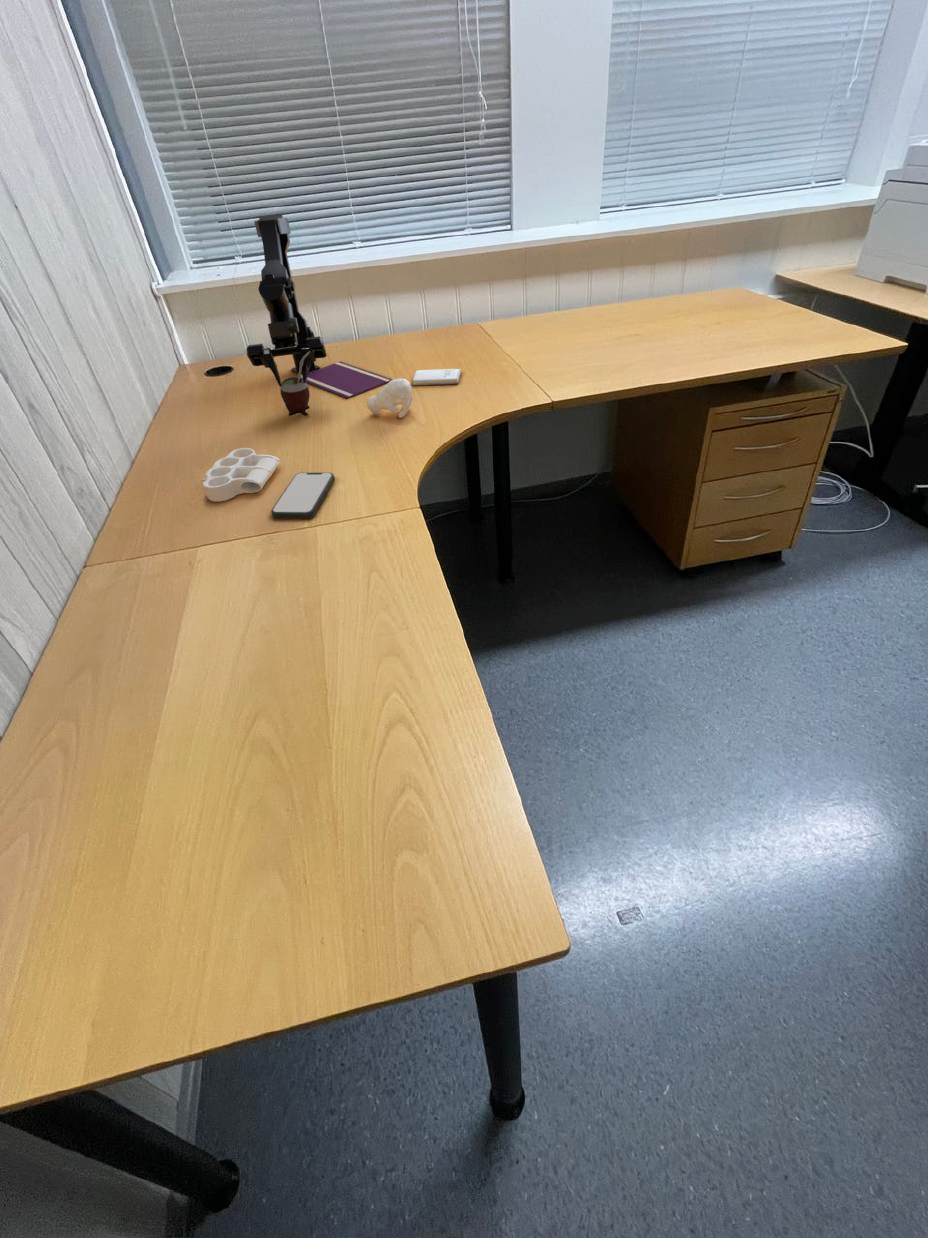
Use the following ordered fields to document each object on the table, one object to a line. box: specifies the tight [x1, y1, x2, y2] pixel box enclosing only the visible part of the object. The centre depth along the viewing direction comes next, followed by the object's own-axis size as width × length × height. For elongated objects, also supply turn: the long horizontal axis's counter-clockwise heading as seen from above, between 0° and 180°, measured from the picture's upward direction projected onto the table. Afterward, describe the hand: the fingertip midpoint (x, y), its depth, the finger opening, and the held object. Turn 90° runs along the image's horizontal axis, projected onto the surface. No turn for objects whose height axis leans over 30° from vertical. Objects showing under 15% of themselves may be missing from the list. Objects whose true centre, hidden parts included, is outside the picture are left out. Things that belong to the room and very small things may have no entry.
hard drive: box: [412, 368, 461, 386], centre depth 168 cm, size 2×8×12 cm
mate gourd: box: [279, 351, 311, 417], centre depth 151 cm, size 8×8×15 cm
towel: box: [300, 361, 394, 400], centre depth 174 cm, size 26×16×1 cm, turn 44°
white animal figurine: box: [366, 378, 413, 419], centre depth 150 cm, size 6×8×12 cm
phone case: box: [270, 472, 335, 520], centre depth 123 cm, size 9×2×16 cm
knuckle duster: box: [201, 447, 281, 503], centre depth 130 cm, size 3×18×15 cm
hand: (292, 384), depth 150 cm, fingers closed on mate gourd, 6 cm apart
